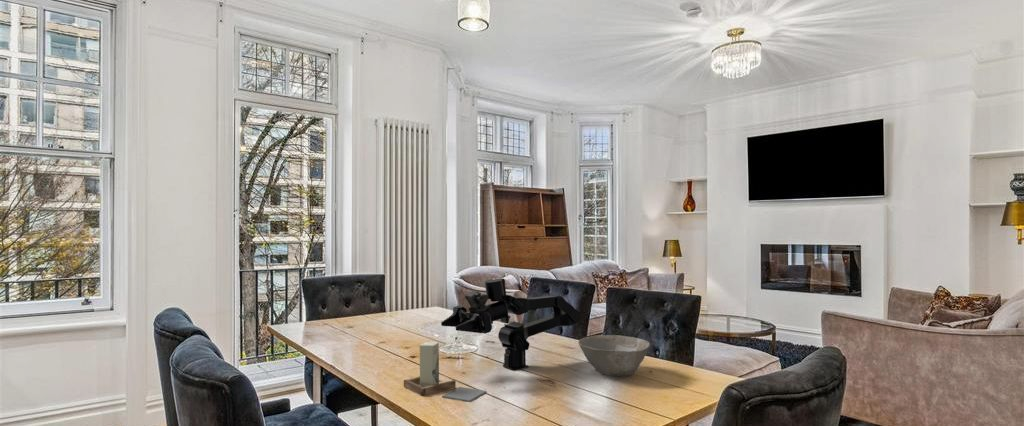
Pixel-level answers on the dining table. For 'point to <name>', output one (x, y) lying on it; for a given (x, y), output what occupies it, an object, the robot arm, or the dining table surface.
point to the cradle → (415, 387)
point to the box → (429, 364)
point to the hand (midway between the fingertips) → (448, 326)
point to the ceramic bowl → (614, 353)
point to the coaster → (464, 394)
